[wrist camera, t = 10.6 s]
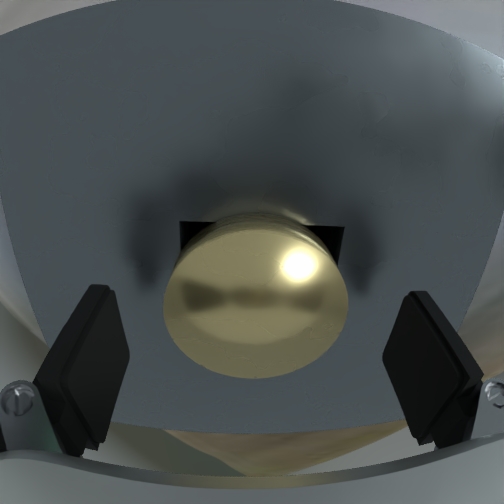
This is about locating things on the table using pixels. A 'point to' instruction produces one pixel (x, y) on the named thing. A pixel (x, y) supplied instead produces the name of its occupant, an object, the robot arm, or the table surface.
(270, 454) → the table surface
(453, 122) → the grey square platform
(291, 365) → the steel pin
